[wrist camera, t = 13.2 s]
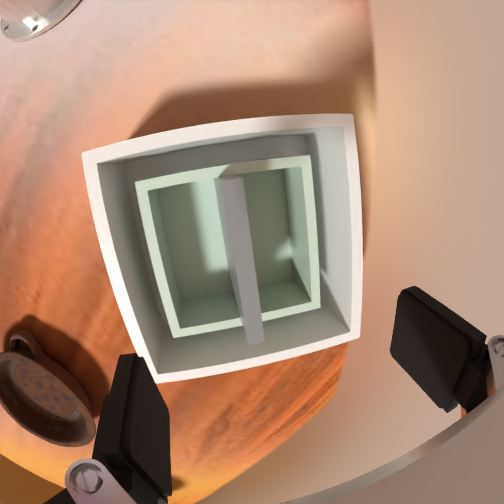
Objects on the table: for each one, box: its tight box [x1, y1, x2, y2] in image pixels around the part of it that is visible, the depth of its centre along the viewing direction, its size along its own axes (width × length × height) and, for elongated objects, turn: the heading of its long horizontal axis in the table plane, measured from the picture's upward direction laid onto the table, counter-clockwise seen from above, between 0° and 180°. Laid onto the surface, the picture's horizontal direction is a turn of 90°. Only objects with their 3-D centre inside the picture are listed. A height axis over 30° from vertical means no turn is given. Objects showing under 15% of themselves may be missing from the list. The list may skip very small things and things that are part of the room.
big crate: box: [81, 114, 363, 383], centre depth 24 cm, size 19×19×9 cm
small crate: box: [135, 155, 320, 345], centre depth 23 cm, size 13×13×10 cm
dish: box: [0, 330, 96, 447], centre depth 28 cm, size 18×22×5 cm
